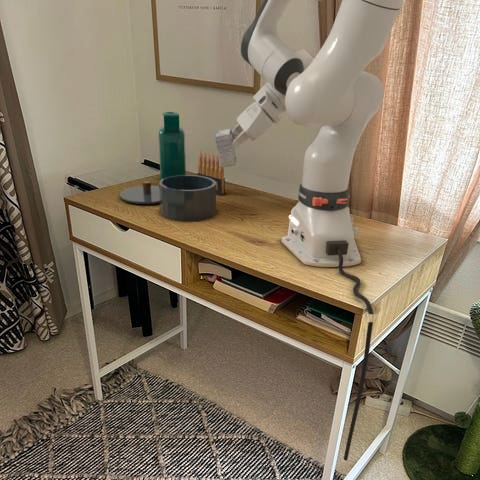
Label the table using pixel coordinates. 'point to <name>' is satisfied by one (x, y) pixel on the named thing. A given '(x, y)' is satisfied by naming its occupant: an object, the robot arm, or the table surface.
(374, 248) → the table surface
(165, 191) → the canister
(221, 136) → the medicine box
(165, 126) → the green bottle
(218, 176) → the ammunition clip
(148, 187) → the lid
